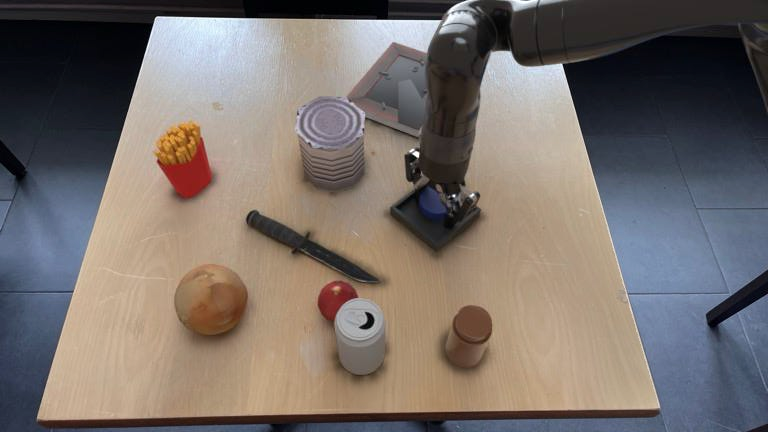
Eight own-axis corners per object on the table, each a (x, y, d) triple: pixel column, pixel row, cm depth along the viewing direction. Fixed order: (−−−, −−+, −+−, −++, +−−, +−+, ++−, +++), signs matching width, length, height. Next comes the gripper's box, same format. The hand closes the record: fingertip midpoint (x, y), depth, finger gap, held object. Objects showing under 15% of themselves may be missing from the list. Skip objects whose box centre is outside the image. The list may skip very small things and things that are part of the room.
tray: (479, 216, 88) (481, 209, 86) (436, 253, 84) (437, 246, 82) (432, 180, 92) (434, 173, 91) (390, 214, 88) (390, 206, 86)
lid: (411, 205, 86) (412, 198, 85) (435, 186, 89) (436, 179, 87) (437, 226, 84) (438, 219, 82) (461, 206, 86) (462, 199, 85)
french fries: (185, 204, 88) (162, 156, 79) (169, 193, 90) (144, 144, 80) (221, 173, 93) (203, 124, 83) (205, 163, 94) (186, 114, 84)
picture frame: (418, 139, 98) (462, 74, 110) (418, 129, 96) (463, 64, 108) (342, 110, 103) (392, 50, 114) (342, 100, 101) (393, 40, 112)
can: (365, 144, 97) (364, 94, 88) (367, 191, 91) (366, 143, 81) (303, 146, 97) (296, 96, 87) (301, 194, 90) (293, 145, 80)
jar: (489, 350, 74) (503, 321, 66) (465, 375, 72) (476, 348, 64) (461, 325, 76) (471, 295, 68) (437, 349, 74) (445, 320, 66)
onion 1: (171, 330, 75) (147, 298, 67) (211, 275, 80) (193, 239, 72) (227, 357, 73) (209, 327, 65) (265, 299, 78) (253, 264, 70)
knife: (242, 225, 85) (245, 211, 84) (261, 217, 89) (264, 204, 88) (365, 299, 77) (371, 284, 76) (380, 287, 81) (385, 273, 80)
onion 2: (330, 290, 79) (326, 263, 73) (365, 302, 78) (364, 276, 72) (313, 322, 76) (307, 297, 70) (349, 336, 75) (347, 312, 68)
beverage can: (375, 383, 71) (376, 349, 61) (332, 368, 72) (325, 333, 62) (390, 341, 75) (392, 303, 65) (348, 327, 76) (344, 288, 66)
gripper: (392, 129, 75) (389, 200, 89) (467, 185, 69) (452, 252, 83) (427, 105, 78) (419, 177, 92) (502, 157, 73) (482, 226, 86)
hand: (435, 212), depth 88 cm, fingers closed on lid, 6 cm apart
